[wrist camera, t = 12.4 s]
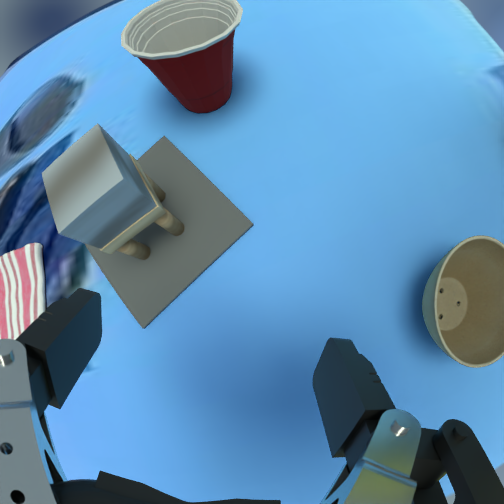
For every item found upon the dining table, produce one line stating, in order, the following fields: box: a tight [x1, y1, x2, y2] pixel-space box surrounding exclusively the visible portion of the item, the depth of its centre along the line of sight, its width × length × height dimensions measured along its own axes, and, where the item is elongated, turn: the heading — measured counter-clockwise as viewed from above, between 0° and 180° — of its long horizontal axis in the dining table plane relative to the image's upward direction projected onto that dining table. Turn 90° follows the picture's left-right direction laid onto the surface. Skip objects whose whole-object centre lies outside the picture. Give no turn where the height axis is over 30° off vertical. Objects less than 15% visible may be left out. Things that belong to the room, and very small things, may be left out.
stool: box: [42, 124, 185, 260], centre depth 22 cm, size 6×6×12 cm
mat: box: [85, 136, 253, 328], centre depth 28 cm, size 14×14×1 cm
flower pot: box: [422, 236, 504, 367], centre depth 20 cm, size 10×10×7 cm
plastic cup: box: [121, 0, 243, 113], centre depth 25 cm, size 11×11×12 cm
